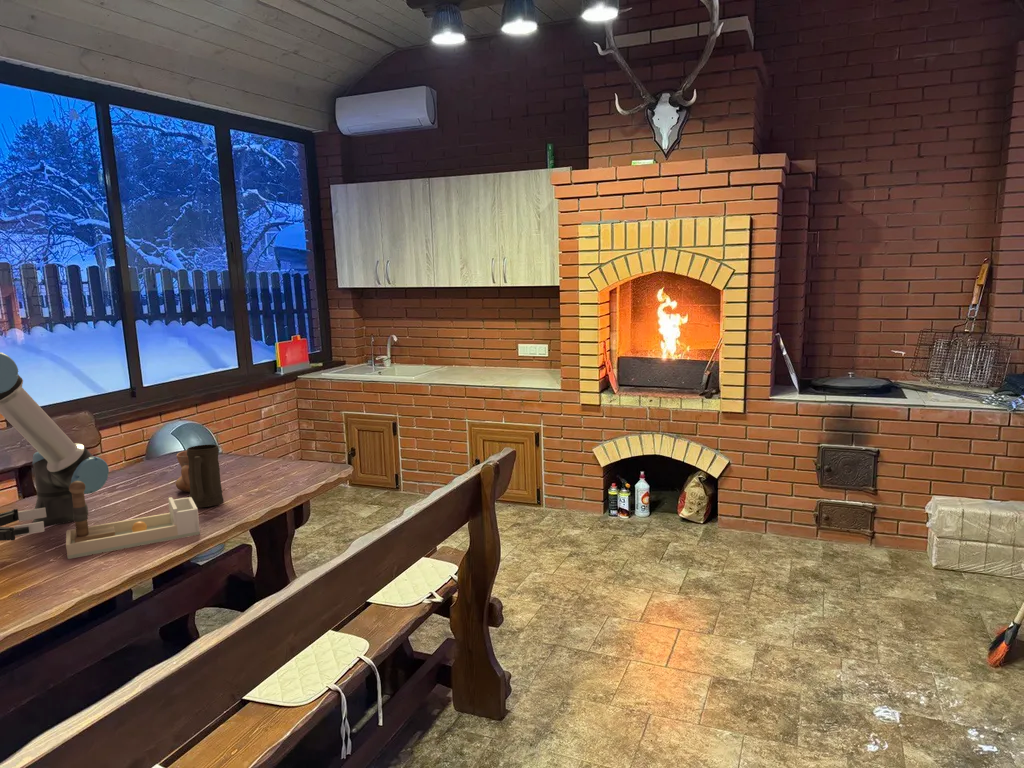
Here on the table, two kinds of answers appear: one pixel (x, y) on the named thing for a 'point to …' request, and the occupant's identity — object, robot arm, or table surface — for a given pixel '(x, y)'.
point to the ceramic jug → (183, 472)
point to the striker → (84, 516)
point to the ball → (139, 526)
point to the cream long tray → (159, 529)
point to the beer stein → (204, 475)
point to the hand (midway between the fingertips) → (45, 519)
